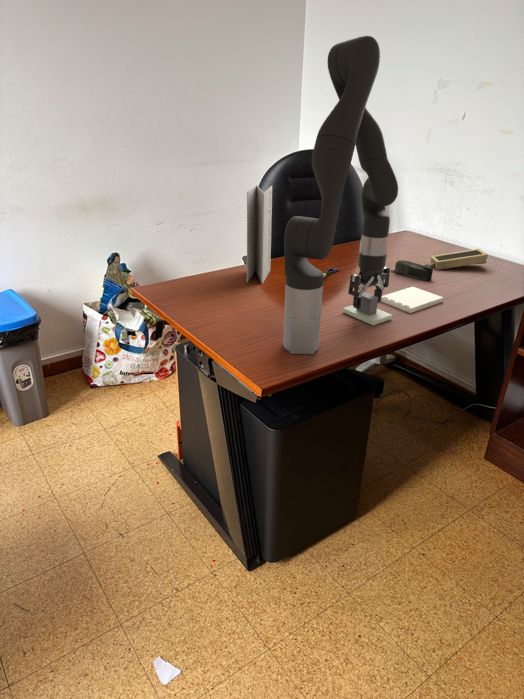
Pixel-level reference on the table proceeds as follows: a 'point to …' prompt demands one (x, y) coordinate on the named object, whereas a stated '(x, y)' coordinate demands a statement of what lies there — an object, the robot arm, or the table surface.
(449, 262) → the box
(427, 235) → the table surface
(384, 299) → the cream panel
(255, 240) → the brochure
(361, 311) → the stub
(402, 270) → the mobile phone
